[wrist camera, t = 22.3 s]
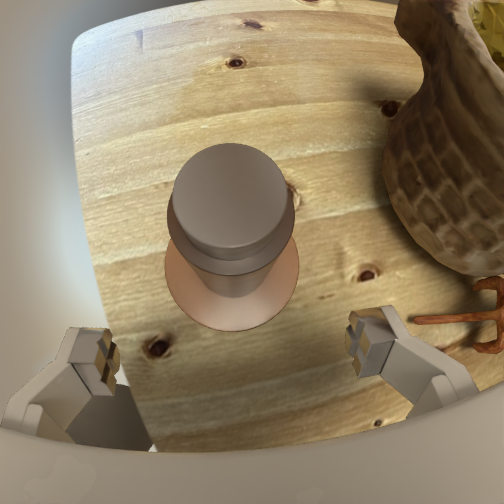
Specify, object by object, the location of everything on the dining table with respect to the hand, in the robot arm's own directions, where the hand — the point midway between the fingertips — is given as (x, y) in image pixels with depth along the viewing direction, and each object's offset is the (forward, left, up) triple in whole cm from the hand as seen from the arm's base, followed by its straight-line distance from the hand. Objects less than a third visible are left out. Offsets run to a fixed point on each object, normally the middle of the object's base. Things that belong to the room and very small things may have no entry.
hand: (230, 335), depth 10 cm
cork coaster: (+2, +4, -13) cm, 14 cm away
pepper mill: (+2, +4, -13) cm, 13 cm away
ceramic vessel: (+23, +3, -13) cm, 27 cm away
